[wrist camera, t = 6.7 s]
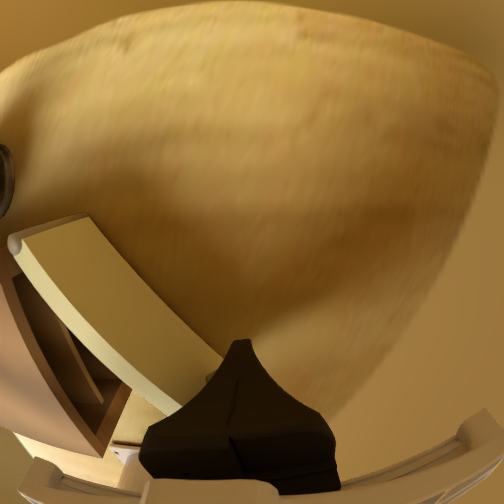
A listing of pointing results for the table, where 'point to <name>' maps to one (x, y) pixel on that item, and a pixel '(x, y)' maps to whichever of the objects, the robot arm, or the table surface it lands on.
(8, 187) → the dark tiered stone ornament
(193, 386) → the door
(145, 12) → the table surface
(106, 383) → the cabinet
